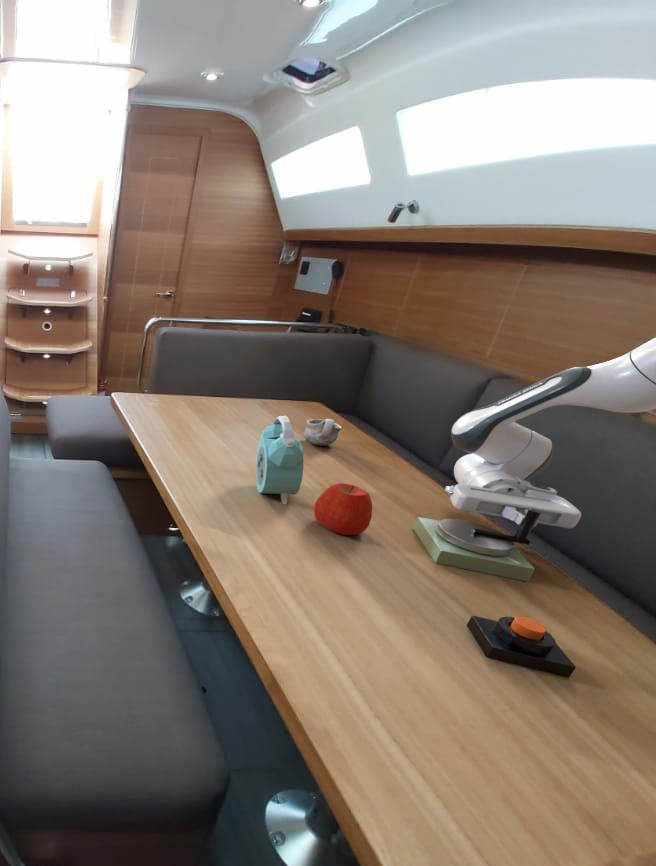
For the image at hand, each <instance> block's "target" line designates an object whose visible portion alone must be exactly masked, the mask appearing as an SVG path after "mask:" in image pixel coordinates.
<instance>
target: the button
mask: <svg viewBox="0 0 656 866" xmlns="http://www.w3.org/2000/svg"><path fill="white" fill-rule="evenodd" d="M514 618H515V619H514V621H513V622H512V624H511V626H510V628H511V629H512V630H513V631H515V632H516V633H517V634H519V635H521V636H524V637H526V638H528V639H532V640H537V641H539V640H541V638H542V637H543V635H544V634H545V632H546V631H547V628H546V626H544V624H542V623H541V622H538V621H537V620H535V619H532V618H530V617H527V616H523V615H522V616H519V615H518V616H515V617H514Z"/></svg>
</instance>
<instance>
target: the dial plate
mask: <svg viewBox="0 0 656 866" xmlns="http://www.w3.org/2000/svg"><path fill="white" fill-rule="evenodd" d="M440 521H441V520H437V519H431V518H426V517H422V516H421V517H420V516H417V518H416V520H415V522H414V524H413V527H412V529H413V531H414V532H415V534H416V536H417V537H418V539H419V541H421V543H422V545H423V546H424V548H425V549H426V551H427V552H428V554H429V556H430V557H431V559H432V560H433V561H434V563H435V564H440V565H442V566H443V565H444V566H449V567H454V568H458V569H462V570H463V569H465V570H467V571H468V570H469V571H473V572H478V573H482V574H488V575H492V576H498V577H503V578H506V579H507V578H508V579H513V580H518V581H523V582H526V583H528V582H529V581H530V579H531V577H532V576H533V574H534V572H535V570H536V568H535V567H534V566H533V565H532V564H531V563H530V562H529V561H528V559H526V557H524V555H522V553H521V552H519V550H518V549H517V548H516V547H515V546H514V547H513V549H512V550H511V552H510V553H509V554H508V555H504V556H492V555H485V554H481V553H477V552H473V551H470V550H467V549H464V548H461V547H459V546H457V545H455V544H452V543H451V542H449V541H447V540H445V539H444V538H443V537H441V536H440V535H439V534H438V532H437V527H438V524H439V522H440Z"/></svg>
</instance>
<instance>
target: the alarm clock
mask: <svg viewBox="0 0 656 866" xmlns="http://www.w3.org/2000/svg"><path fill="white" fill-rule="evenodd" d="M304 456H305V455H304V448H303V444H302V443H301V440H300V439H298V438H295V433H294V429H293V425H292V423H291V422H290V419H289V417H288V416H287V415H279V416H277V417H276V418H275V419H274V421H273V422H272V423H271V425H267V426H266V427H265V428H264V430H263V431H262V433H261V434H260V440H259V442H258V445H257V449H256V456H255V484H256V485H255V486H256V489H257V491H258V493H259V494H272V495H274V494H275V495H276V494H277V495H280V502H281V504H283V505H287V504H288V500H289V495H296V494H298V492H299V490H300V488H301V485H302V481H303V473H304Z"/></svg>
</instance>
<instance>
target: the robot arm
mask: <svg viewBox="0 0 656 866" xmlns="http://www.w3.org/2000/svg"><path fill="white" fill-rule="evenodd" d="M557 406H576V407H577V406H578V407H584V408H592V409H598V410H602V411H603V410H604V411H609V412H613V413H623V414H624V413H626V414H627V413H628V414H629V413H630V414H631V413H633V414H634V413H636V414H637V413H645V412H649V411H653V410H656V337H653V338H652V339H650V340H648V341H647V342H645V343H643V344H641V345H639V346H638V347H636V348H634V349H632V350H630V351H629V352H627V353H625V354H623V355H621V356H618V357H616V358H613V359H611V360H608V361H604V362H601V363H598V364H593V365H588V366H574V367H571V368H567V369H564V370H562V371H560V372H557V373H555V374H553V375H551V376H548V377H546V378H544V379H542V380H540V381H538V382H535V383H533V384H530V385H529V386H527V387H525V388H522V389H521V390H519V391H516V392H514V393H512V394H510V395H508V396H506V397H504V398H501V399H499V400H497V401H495V402H494V403H491V404H489V405H485V406H483V407H480V408H476V409H473V410H471V411H468V412H466V413H464V414H463V415H461V416H460V417H459V418H458V419H457V420H455V422H454V423H453V424H452V426H451V429H450V437H451V442H452V444H453V446H454V447H455V448H456V449H458V450H461V451H463V452H466V453H468V454H464V455H463V456H461V457H459V459H457V461H456V462H455V464H454V467H453V476H454V479H455V481H456V482H457V484H452V485H446V486H445V487H444V490H445V492H446V493H447V494H449V495H450V496H449V499H450V502H451V504H452V506H453V507H454V508H456V510H457V509H458V510H459V511H464V512H469V513H475V514H481V515H488V516H492V517H497V518H498V517H499V518H504V519H508V520H510V521H513V522H514V523H516V524H517V526H520V524H521V523H522V521H523V519H524V517H525V515H526V514H527V512H528V510H529V509H530V508H532V509H537V510H539V511H541V512H542V513H541V514H540V516H539V518H538V520H537V521H536V523H535V525H534V527H533V528H536V527H537V525H539V524H541V525H545V526H546V525H547V526H551V527H557V528H563V529H573V528H574V527H575V526H576V525H577V524H578V523H579V521H580V520H581V518H582V512H581V511H580V510H579V509H578V508H577V507H576V506H575V505H573V503H571V501H568V500H567V499H566V498H564V497H561V496H560V495H557V494H558V491H557V490H556V489H555V488H552V487H548V486H546V485H541V484H538V483H534V482H531V481H529V480H531V479H533V478H534V477H537V476H538V475H539V474H541V473H542V472H543V471H544V470H545V469H546V468H547V467H549V466H550V464H551V462H552V460H553V457H554V452H555V451H554V443H553V441H552V440H551V439H550V438H548V437H547V436H544V435H542V434H540V433H538V432H536V431H534V430H532V429H530V428H528V427H525V426H523V425H521V424H519V423H517V421H519V420H522V419H523V418H526V417H528V416H531V415H533V414H535V413H537V412H540V411H542V410H545V409H547V408H551V407H557Z"/></svg>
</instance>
